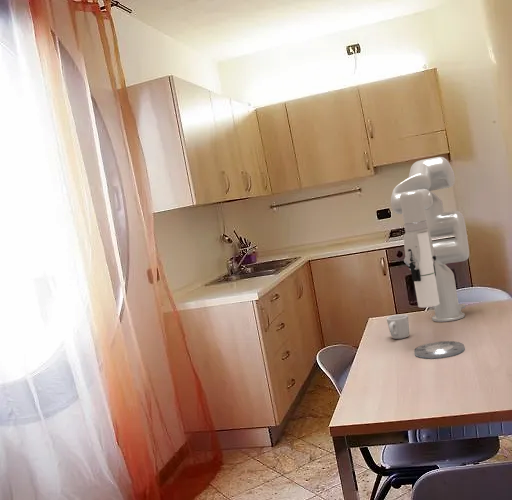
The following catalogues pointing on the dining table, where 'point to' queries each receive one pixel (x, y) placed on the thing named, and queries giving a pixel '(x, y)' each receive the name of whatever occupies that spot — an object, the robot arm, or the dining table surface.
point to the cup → (398, 326)
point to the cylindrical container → (426, 275)
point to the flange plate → (439, 350)
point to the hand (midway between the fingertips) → (424, 278)
